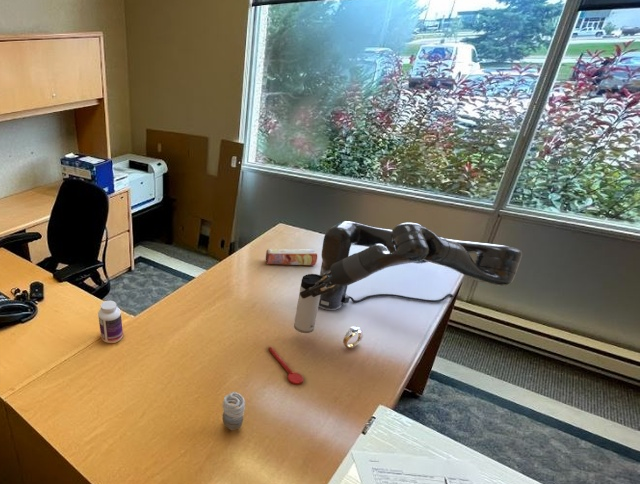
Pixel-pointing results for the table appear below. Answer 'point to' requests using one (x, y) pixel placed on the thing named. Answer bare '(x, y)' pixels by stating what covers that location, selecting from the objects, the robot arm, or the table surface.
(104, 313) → the pill bottle
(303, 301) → the travel mug
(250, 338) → the table surface
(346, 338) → the ring
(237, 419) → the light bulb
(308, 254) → the snack package
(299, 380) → the spoon
